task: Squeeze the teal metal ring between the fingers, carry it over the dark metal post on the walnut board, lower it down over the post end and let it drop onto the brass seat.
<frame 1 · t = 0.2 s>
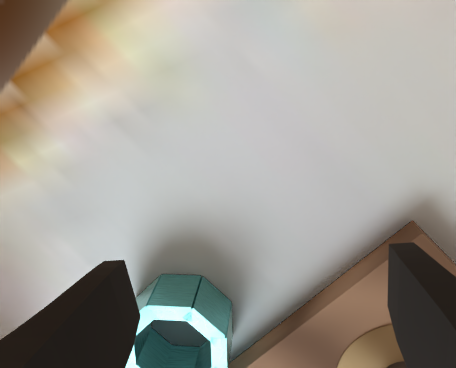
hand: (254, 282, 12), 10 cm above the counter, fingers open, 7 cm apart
ring: (184, 317, 24), on the counter
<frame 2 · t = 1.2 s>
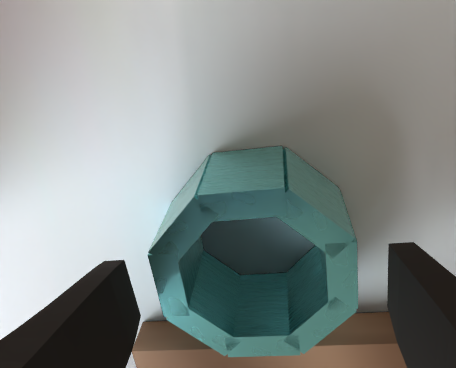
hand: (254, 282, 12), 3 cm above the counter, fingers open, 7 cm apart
ring: (257, 226, 14), on the counter
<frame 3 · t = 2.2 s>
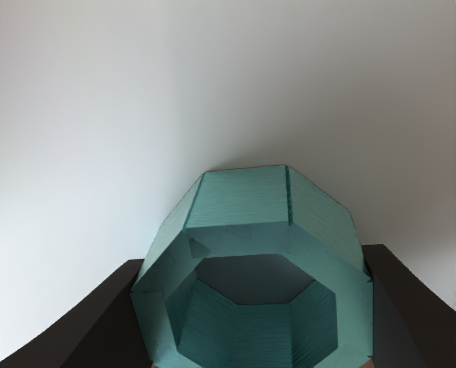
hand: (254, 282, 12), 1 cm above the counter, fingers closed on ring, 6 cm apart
ring: (256, 252, 13), on the counter, touching gripper
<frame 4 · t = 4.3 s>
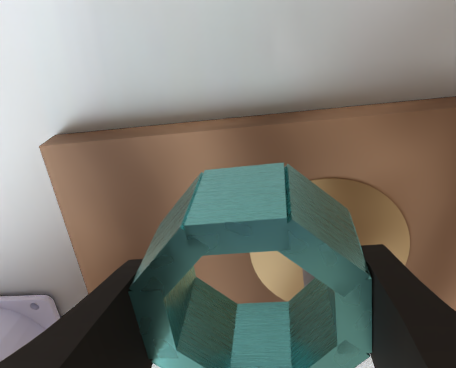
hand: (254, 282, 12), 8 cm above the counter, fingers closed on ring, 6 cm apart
board: (261, 234, 21), on the counter
ring: (255, 250, 13), point 7 cm above the counter, touching gripper
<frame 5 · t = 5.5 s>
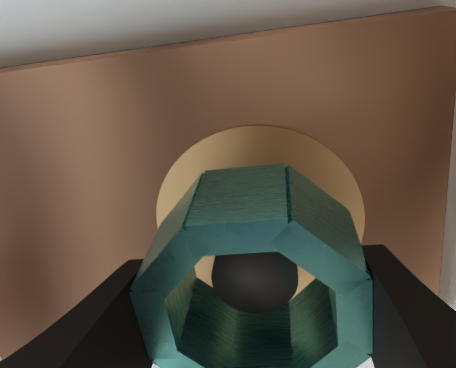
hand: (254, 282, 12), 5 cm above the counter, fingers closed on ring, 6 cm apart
board: (181, 209, 16), on the counter
ring: (256, 251, 13), point 3 cm above the counter, touching gripper
when the fingers open (4 cm above the counter, at t = 6.5 s): ring drops 1 cm, resting on board.
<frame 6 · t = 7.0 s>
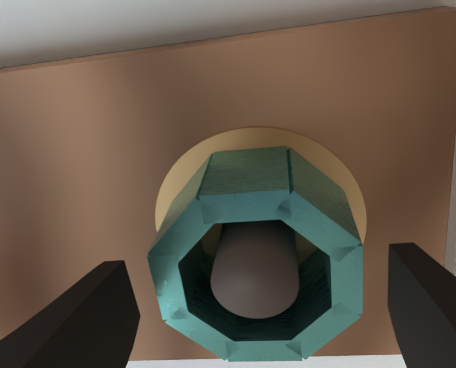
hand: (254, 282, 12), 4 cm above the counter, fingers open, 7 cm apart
board: (180, 211, 16), on the counter
ring: (258, 227, 14), point 2 cm above the counter, touching board
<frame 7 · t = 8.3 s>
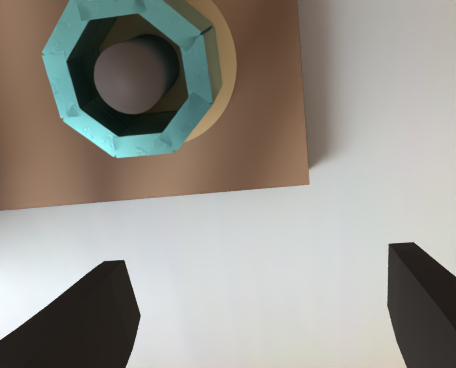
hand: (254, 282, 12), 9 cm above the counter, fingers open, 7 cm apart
board: (96, 67, 19), on the counter
ring: (150, 63, 17), point 2 cm above the counter, touching board
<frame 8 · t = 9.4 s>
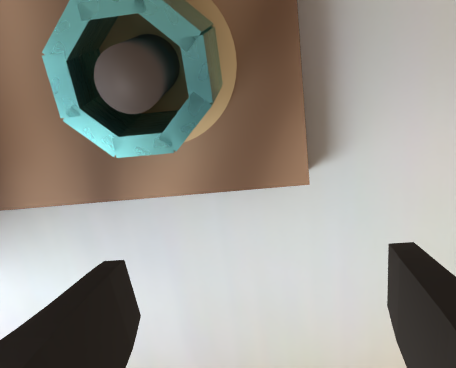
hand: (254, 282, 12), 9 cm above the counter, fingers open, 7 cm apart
board: (96, 67, 19), on the counter
ring: (150, 63, 17), point 2 cm above the counter, touching board
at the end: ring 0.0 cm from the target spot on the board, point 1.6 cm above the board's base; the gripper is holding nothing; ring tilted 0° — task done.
